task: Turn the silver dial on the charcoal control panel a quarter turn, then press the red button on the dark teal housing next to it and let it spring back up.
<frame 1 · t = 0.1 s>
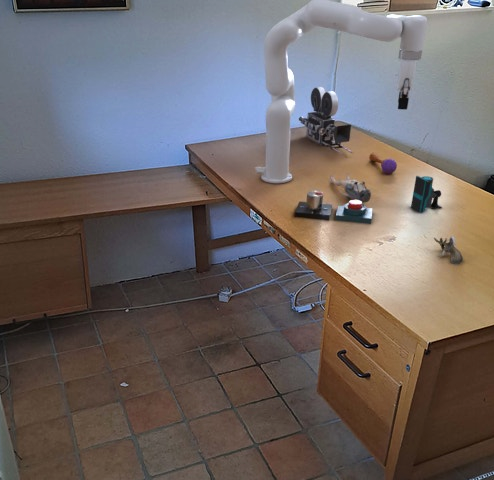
hand: (402, 105, 201), 31 cm above the table, tool pointing down, fingers open, 9 cm apart
dial panel: (313, 213, 198), on the table
film camera: (324, 144, 267), on the table
button box: (353, 217, 194), on the table
antlered animal figurine: (447, 257, 168), on the table
dial: (314, 200, 195), point 5 cm above the table, hinge at 0.0°
anime figure: (351, 195, 212), on the table
purple maraca: (381, 168, 237), on the table
surveillance camera: (426, 208, 199), on the table
red button: (355, 204, 192), point 5 cm above the table, slide at 0.1 cm
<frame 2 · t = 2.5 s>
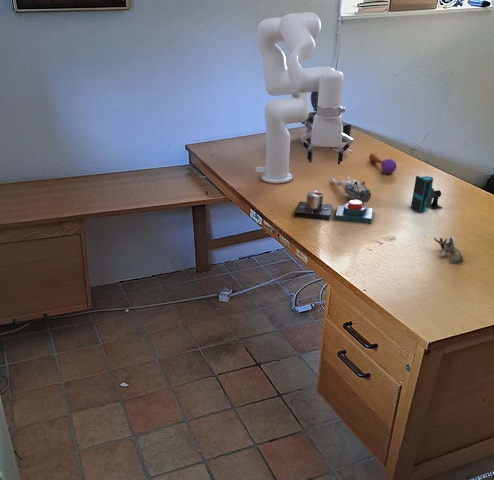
hand: (324, 162, 190), 18 cm above the table, tool pointing down, fingers open, 9 cm apart
nothing on the table moved.
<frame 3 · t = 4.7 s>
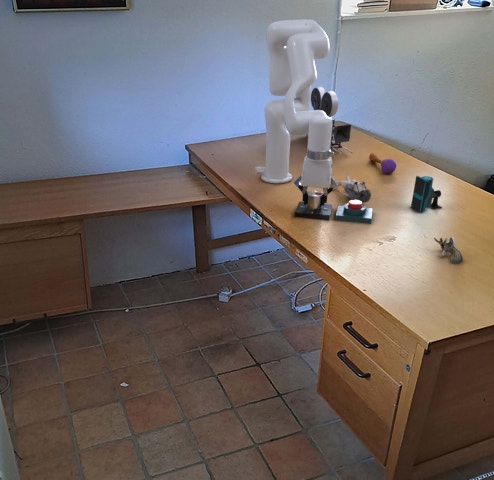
hand: (314, 203, 196), 4 cm above the table, tool pointing down, fingers closed on dial, 5 cm apart
dial: (314, 200, 195), point 5 cm above the table, hinge at 0.0°, touching gripper
everything else where it was.
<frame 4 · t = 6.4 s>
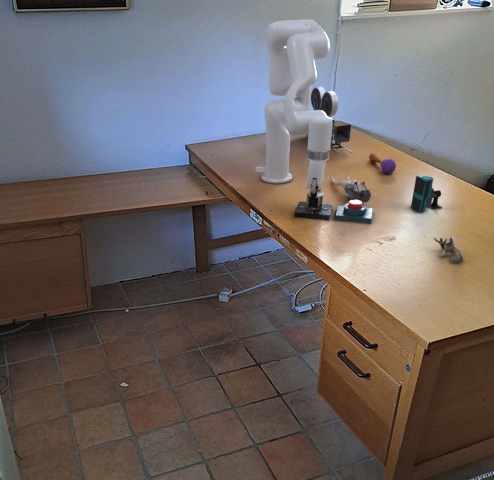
hand: (314, 203, 196), 4 cm above the table, tool pointing down, fingers closed on dial, 5 cm apart
dial: (314, 200, 195), point 5 cm above the table, hinge at 89.1°, touching gripper
everything else where it was.
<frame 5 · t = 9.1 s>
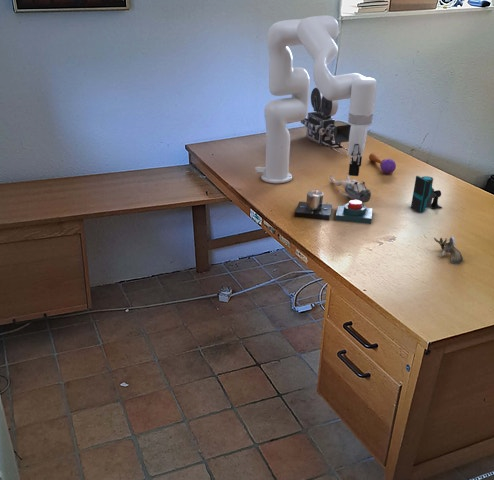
hand: (354, 170, 186), 17 cm above the table, tool pointing down, fingers open, 9 cm apart
dial: (314, 200, 195), point 5 cm above the table, hinge at 89.2°
everything else where it was.
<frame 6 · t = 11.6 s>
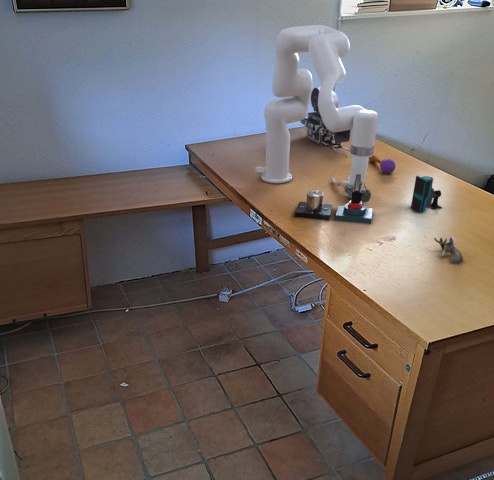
hand: (355, 202, 191), 6 cm above the table, tool pointing down, fingers closed
red button: (355, 204, 192), point 5 cm above the table, slide at 0.1 cm, touching gripper
everything else where it was.
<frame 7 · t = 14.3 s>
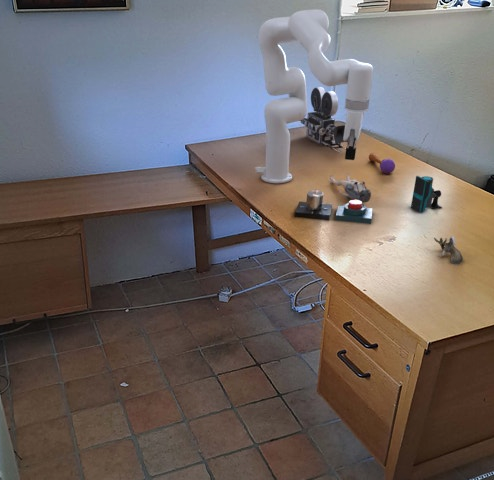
hand: (349, 158, 190), 19 cm above the table, tool pointing down, fingers closed
red button: (355, 204, 192), point 5 cm above the table, slide at 0.1 cm
everything else where it was.
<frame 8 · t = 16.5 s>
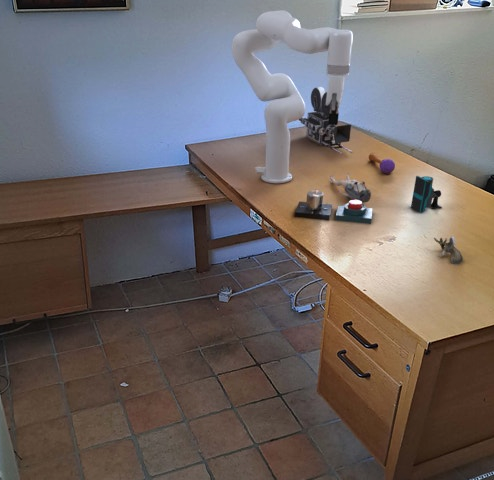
hand: (333, 124, 198), 27 cm above the table, tool pointing down, fingers closed
nothing on the table moved.
at the end: dial at +89° (first picture: +0°); red button pushed in 1.3 cm at the most during the clip, back to where it started at the end; red button slide at 0.1 cm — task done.
